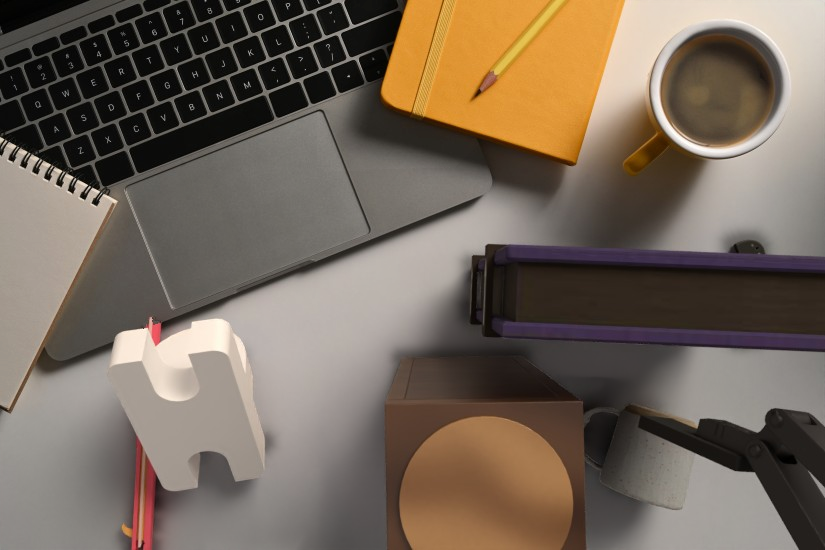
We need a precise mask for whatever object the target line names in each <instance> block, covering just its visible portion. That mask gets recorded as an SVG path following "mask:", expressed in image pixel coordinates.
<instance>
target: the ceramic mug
mask: <svg viewBox="0 0 825 550" xmlns="http://www.w3.org/2000/svg"><path fill="white" fill-rule="evenodd" d="M601 412H603V413H611V414H613V415H617V416H618V419H617V422H616V425H615V428H614V431H613V433H612V439H611V441H610V445H609V447H608V449H607V452H606V456H605V458H604V461H603V464H600V463H598V462H596V461H595V460H594V459H592V458H591V457H590V456H589V455H587V453H586V452H585V451H584V462H585V463H587V465H589V466H591V467H592V468H594V469H596V470H598V471H599V472H600V473H599V482H600V483H601V484H603V485H605V486H606V487H607V488H609V489H611V490H613V491H615V492H617V493H619V494H621V495H624V496H626V497H629V498H632V499H634V500H637V501H640V502H643V503H646V504H649V505H652V506H656V507H660V508H664V509H667V510H671V511H680V510H682V509H683V508H684V506H685V501H686V497H687V492H688V488H689V484H690V481H691V475H692V471H693V470H692V469H693V465H694V462H695V461H694V460H695V456H696V453H693V452H691V451H689V450H687V449H684V448H682V447H680V446H678V445H676V444H673V443H671V442H669V441H667V440H664V439H662V438H660V437H658V436H656V435H653V434H651V433H649V432H647V431H645V430H642V429H640V428H638V424H639V420H640V416H641V415H645V416H655V417H664V418H672V419H675V420H677V421H679V422H682V423H684V424H687V425H689V426H692V427H694V428H696V429H697V428H698V425H697V424H696V423H695V422H694V421H692V420H689V419H686V418H684V417H680V416H678V415H674V414H671V413H667V412H664V411H661V410H659V409H655V408H651V407H647V406H644V405H640V404H636V403H628V404H627V405H625V406H624V407H623V409H621V410H619V409H617V408H614V407H607V406H606V407H605V406H599V407H598V406H597V407H593V408H589V410H586V411H585V412H583V426H584V429H585V428H586V426H587V424H589V423H590V421H591V418H592V417H593V414H597V413H601Z"/></svg>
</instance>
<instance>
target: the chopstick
mask: <svg viewBox="0 0 825 550" xmlns="http://www.w3.org/2000/svg"><path fill="white" fill-rule="evenodd" d="M152 317H153V316H149V319H148V320H149V324H148V326H147V324H146V327H145V328H148V330H149V332H150V334H151V337H152V339H153V342H154V344H155V347H156V346H157V345H158V344H159V343H160V342H161V334H162V322H161V323H158V324H155V325H153V322H152V320H153V319H152ZM135 448H136V462H135V478H134V481H135V482H134V498H133V499H134V500H133V515H132V516H133V517H132V527H131V528H130V527H128V526H127V525H126V524H125V523H123V524H122V525H121V529H122V532H123V533H124V535H126V536H128V537H129V538H131V550H140V549H139V548H141V547H142V545H143V548H142V550H153V539H154V538H153V537H154V521H155V520H154V518H155V500H156V481H157V474H156V472H155V470H154V468H153V466H152V464H151V462H150V460H149V458H148V456H147V454H146V452H145V450H144V448H143V446H142V444H141V442H140V440H139V438H138V436H137V435H136V443H135ZM143 543H144V544H143Z"/></svg>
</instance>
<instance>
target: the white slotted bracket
mask: <svg viewBox="0 0 825 550" xmlns="http://www.w3.org/2000/svg"><path fill="white" fill-rule="evenodd" d="M111 349H112V350H111V353H110V358H109V362H108V366H107V371H106V376H107V378H108V381H109V382H110V384H111V386H112V388H113V390H114V392H115V394H116V396H117V399H118V400H119V403H120V404H121V406H122V408H123V411H124V413H125V414H126V416H127V418H128V420H129V423H130V424H131V426H132V428H133V430H134V432H135V434H136V437H137V436H138V438H139V440H140V442H141V444H142V446H143V448H144V450H145V452H146V454H147V456H148V458H149V460H150V462H151V464H152V466H153V468H154V470H155V472H156V477H157V478H158V480H159V482H160V484H161V486H162V488H163V489H165V490H166V491H169V492H180V491H187V490H192V489H198V488H199V477H200V465H201V464H200V463H201V453H202V452H215V453H218V454H220V455H222V456H223V457H225V459H226V460H227V463H228V466H229V468H230V471H231V473H232V477H233V479H234V482H242V481H248V480H254V479H258V478H261V477H262V476H264V474H265V471H266V451H265V450H266V437H265V434H264V431H263V427H262V424H261V421H260V418H259V414H258V411H257V408H256V405H255V401H254V376H253V375H254V374H253V370H252V367H251V363H250V360H249V355H248V354H247V349H246V347H245V344H244V343H243V341H242V339H241V338H240V337H239V336H238V335H237V334H235V333H234V331H233V329H232V325H231V324H230V322H229V321H227V320H225V319H223V318H210V319H209V318H208V319H201V320H196V321H195V320H194V321H191V325H190V328H187V329H184V330H181V331H179V332H176V333H173V334H171V335H170V336H169V337H166V338H165V339H163V340H161V341H160V343H159V344H158V345H157V346H156V347H155V344H154V342H153V339H152V337H151V334H150V332H149V330H148V328H144V329H143V328H138V329H131V330H124V331H120V332H119V333H117V334H116V335H115V337H114V340H113V345H112V348H111Z"/></svg>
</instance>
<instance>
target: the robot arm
mask: <svg viewBox="0 0 825 550" xmlns="http://www.w3.org/2000/svg"><path fill="white" fill-rule="evenodd" d="M764 423H765V424H764V425H763V427H762V428H761V429H760V430H759V431H758V432H757V431H754V430H751V429H750V428H748V427H747V428H746V427H744V426H742V425H741V426H740V425H739V424H736V423H733V422H731V421H729V420H724V419H718V418H709V417H708V418H699V420H698V424H697V429H696V428H694V427H692V426H689V425H687V424H684V423H682V422H679V421H677V420H675V419H672V418H664V417H655V416H645V415H641V416H640V420H639V424H638V428H640V429H642V430H645V431H647V432H649V433H651V434H653V435H656V436H658V437H660V438H662V439H664V440H667V441H669V442H671V443H673V444H676V445H678V446H680V447H682V448H684V449H687V450H689V451H691V452H693V453H695V455H698V456H700V457H702V458H704V459H707V460H709V461H711V462H714V463H715V464H718V465H720V466H722V467H725V468H727V469H729V470H731V471H733V472H741V473H742V472H743V473H754V474H755V475H756V477H757V479H758V481H759V483H760V484H761V486H762V488H763V489H764V491H765V493H766V495H767V497H768V499H769V501H770V502H771V503H772V505H773V507H774V509H775V511H776V512H777V514H778V516H779V518H780V519H781V522H782V523H783V525H784V527H785V528H786V530H787V532H788V533H789V535H790V537H791V539H792V540H793V542H794V544H795V546H796V548H797V549H798V550H825V496H824V494H823V492H822V491H821V489H820V487H819V486H818V484H817V483H816V481H818V483H820V484H821V485H822V487H823V488H825V425H824V424H823V423H822V422H821V421H820V420H818V418H817V417H815V415H813V414H812V413H811V412H808V411H800V410H794V409H787V408H785V409H784V408H781V407H780V408H779V407H774V408H770V409H769V410H767V412H766V414H765V415H764ZM813 477H814V478H813ZM815 479H816V481H815Z"/></svg>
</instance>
